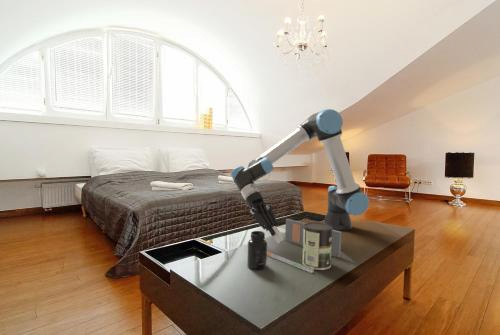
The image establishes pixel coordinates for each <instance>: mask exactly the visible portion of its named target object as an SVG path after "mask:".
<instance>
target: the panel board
mask: <svg viewBox="0 0 500 335" xmlns="http://www.w3.org/2000/svg"><path fill="white" fill-rule="evenodd" d="M305 223H306V222H303V221H299V220H294V219H290V218H286V219H285V233H284V234H285V235H284V237H285V238H284V239H285V240H284V241H286V242H289V243H291V244H294V245H298V246H300V247H303V230H304V227H303V225H304V224H305ZM341 248H342V231H341V230H335V229H333V230H332V247H331V257H334V258H338V259H339V258H341Z"/></svg>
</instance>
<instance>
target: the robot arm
mask: <svg viewBox="0 0 500 335" xmlns="http://www.w3.org/2000/svg"><path fill="white" fill-rule="evenodd" d="M343 125H344V121H343V117H342V115H341V113H340V112H338V111H337V110H335V109H330V108H329V109H324V110H323V109H322V110H321V111H319V112H316V113H313V114H311V115H310V116H309V117H307V119H305V120H304V121H303V122H302V123H301V124H299V125H297V128H296V129H295V130H293V132H291V133H290V134H288V135H287V136H286V137H284V138H283V139H281V140H280V141H279V142H277V143H276V144H274V145H273V146H272V147H270V148H269V149H267V150H266V151H264V152H263V153H262V154H260V155H259V156H258V157H256V158H255V159H252V160H251V161H250V162H248V165H247V167H244V166H242V165H240V166H237V167H236V166H235V168H233V169H232V171H231V172H230V176H231V179H232V180H233V182H234V184H235V185H236V187H237V188H238V190H239V192H240V193H241V194H240V195H241V196H242V197H243V199H244V200H245V203H246V204H247V205H248V207H249V208H250V210H249V212H248V213H249V215H251V216H252V217H253V218H254V219H255V220H256V222H257V223H258V224H259V225H260V227H261V228H262V229H263V230H265V231H266V232H269V234H270V235H271V236H272V238H273V239H274V241H275V243H276V244H280V243H281V242H282V241H283V240H284V238H283V236H282V235H281V233H280V230H278V227H277V225H278V223H279V222H278V220H277V219H276V216H275V214H274V212H273V208H272V205H271V204H270V205H267V204H266V203H265V202H264V197H263V195H262V193H261V192H260V191H259V188H258V187H257V186H256V184H255V183H254V182H256V181H258V180H259V179H262V178H263V177H265V176H267V175H269V174H270V173H271V172H273V171H274V170H275V169H274V165H273V164H275V163H276V162H278V161H279V160H281V159H282V158H284V157H285V156H286V155H287V154H289V153H291V152H292V151H293V150H294V149H296V148H298V147H299V146H300V145H301V144H303V143H304V142H305V141H306V142H309V141H310V140H312V139H313V138H315V137H317V140H318V142H320V143H321V144H322V145H323V148H324V151H325V154H326V157H327V159H328V162H329V166H330V169H331V171H332V174H333V177H334V180H335V183H336V185H330V186H328V190H327V210H326V215H325V217H324V220H323V223H324V224H328V225H330V226H332V227H333V230H336V231H350V230H352V229H353V222H352V219H351V216H350V215H353V216H362V215H363V214H364V213H366V211H367V210H368V208H369V206H370V199H369V197H368V195H367V194H365V193H364V192H362V188H361V185H360V184H359V183H356V181H355V177H354V175H353V172H352V169H351V166H350V162H349V159H348V157H347V154H346V151H345V147H344V145H343V141H342V139H341V137H342V135H343V132H342V131H343V130H342V127H343Z"/></svg>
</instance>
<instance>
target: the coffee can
mask: <svg viewBox="0 0 500 335" xmlns="http://www.w3.org/2000/svg"><path fill="white" fill-rule="evenodd" d="M304 223H305V224H304V225H303V227H304V230H303V246H302V260H301V261H302V265H304V266H306V267H309V268H311V269H314V271H315V270H316V271H325V270H328V269H330V268H331V267H332V255H331V247H332V230H334V229H333V227H332V226H330V225H328V224H324V222H317V221H315V222H314V221H313V222H304Z"/></svg>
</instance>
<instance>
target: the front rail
mask: <svg viewBox="0 0 500 335" xmlns="http://www.w3.org/2000/svg"><path fill="white" fill-rule="evenodd" d="M267 257H270V258H273V259H275V260H277V261H280V262H283V263H284V264H287V265H289V266H292V267H295V268H296V269H297V268H298V269H300V270H303V271H304V272H307V273H309V274H314V273H315V269H311V268H309V267H306V266H304V265H303V264H301V263H298V262H295V261H293V260H290V259H288V258H286V257H282V256H280V255H279V254H274V253H272V252H269V251H267Z"/></svg>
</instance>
